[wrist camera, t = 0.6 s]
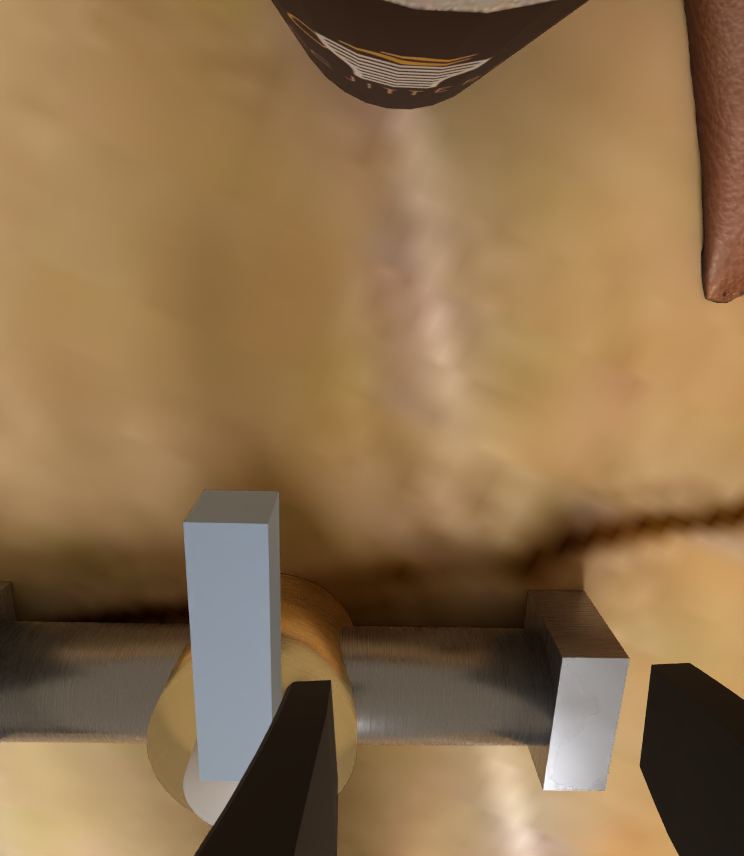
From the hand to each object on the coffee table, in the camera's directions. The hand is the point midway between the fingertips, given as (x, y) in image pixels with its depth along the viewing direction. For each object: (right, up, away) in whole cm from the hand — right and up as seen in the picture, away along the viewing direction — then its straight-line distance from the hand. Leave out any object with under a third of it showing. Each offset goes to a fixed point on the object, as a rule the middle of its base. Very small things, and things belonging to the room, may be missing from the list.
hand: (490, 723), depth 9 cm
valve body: (-5, -3, +12) cm, 13 cm away
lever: (-5, -1, +6) cm, 8 cm away
